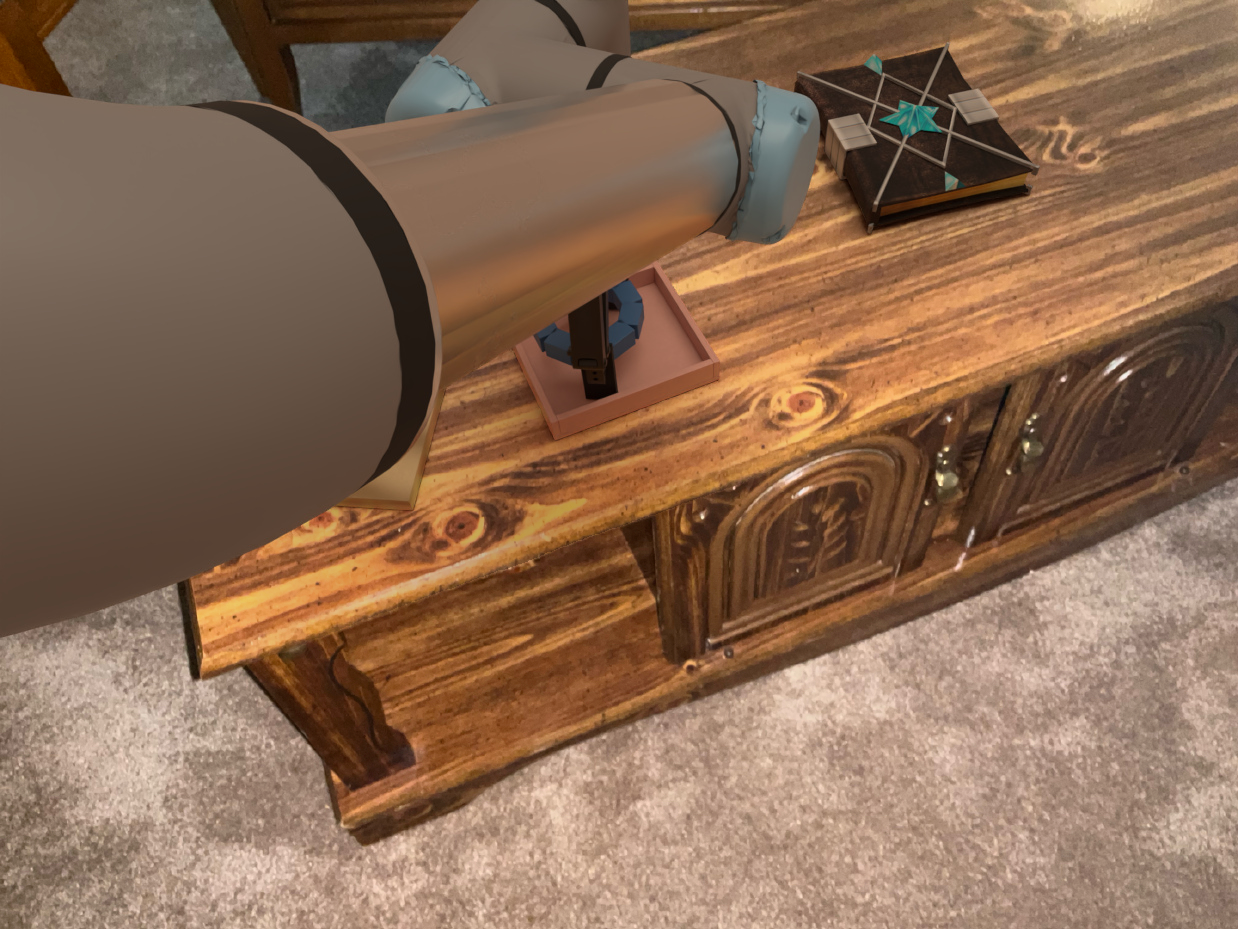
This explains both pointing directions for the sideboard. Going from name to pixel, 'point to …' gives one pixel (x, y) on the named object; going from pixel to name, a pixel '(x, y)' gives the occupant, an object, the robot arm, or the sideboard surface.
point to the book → (913, 136)
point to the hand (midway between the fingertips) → (609, 349)
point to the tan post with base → (399, 475)
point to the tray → (626, 363)
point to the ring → (619, 332)
